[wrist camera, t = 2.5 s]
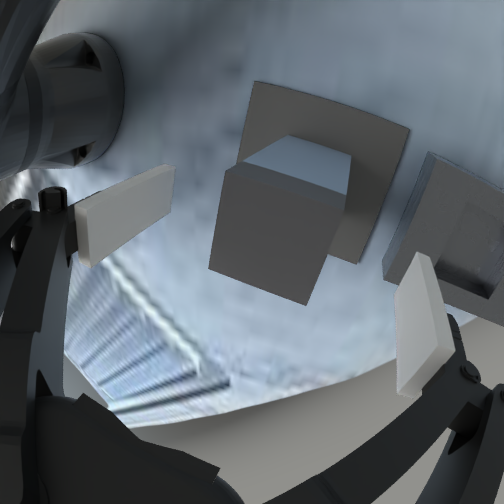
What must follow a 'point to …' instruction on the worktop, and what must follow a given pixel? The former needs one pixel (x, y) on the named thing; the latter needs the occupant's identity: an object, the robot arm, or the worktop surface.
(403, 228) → the strip
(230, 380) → the worktop surface
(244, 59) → the worktop surface
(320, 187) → the plug
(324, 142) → the mat
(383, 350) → the worktop surface
